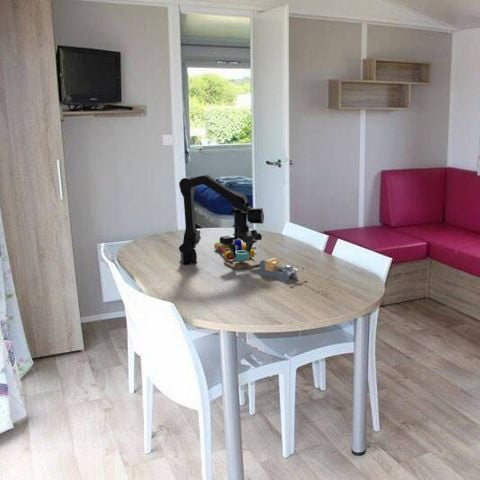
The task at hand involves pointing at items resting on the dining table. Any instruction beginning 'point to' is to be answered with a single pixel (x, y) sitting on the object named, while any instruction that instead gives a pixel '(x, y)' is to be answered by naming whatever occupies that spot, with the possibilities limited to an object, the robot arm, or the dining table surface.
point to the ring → (242, 255)
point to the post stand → (241, 264)
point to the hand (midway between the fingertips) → (241, 256)
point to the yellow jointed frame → (238, 247)
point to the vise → (277, 269)
